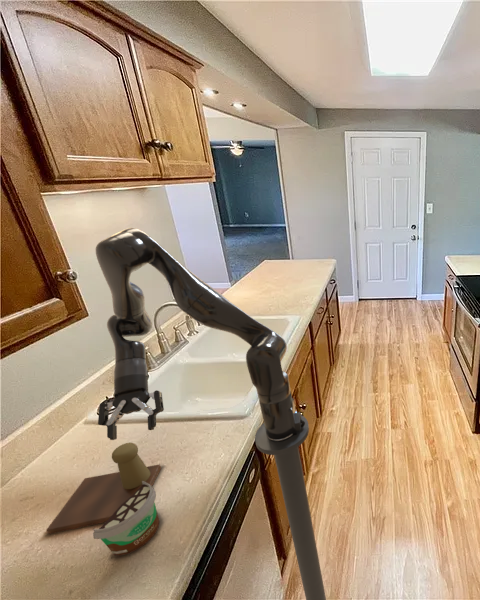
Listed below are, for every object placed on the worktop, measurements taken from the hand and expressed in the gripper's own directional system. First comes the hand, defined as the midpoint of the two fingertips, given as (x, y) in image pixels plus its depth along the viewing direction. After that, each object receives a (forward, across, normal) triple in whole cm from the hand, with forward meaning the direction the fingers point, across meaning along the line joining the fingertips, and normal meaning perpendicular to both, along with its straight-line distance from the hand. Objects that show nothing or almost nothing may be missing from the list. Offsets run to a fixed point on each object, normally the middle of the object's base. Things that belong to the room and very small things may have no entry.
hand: (132, 434), depth 90 cm
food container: (+25, +5, -9) cm, 27 cm away
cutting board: (+14, -5, +1) cm, 15 cm away
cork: (+12, 0, +2) cm, 12 cm away
